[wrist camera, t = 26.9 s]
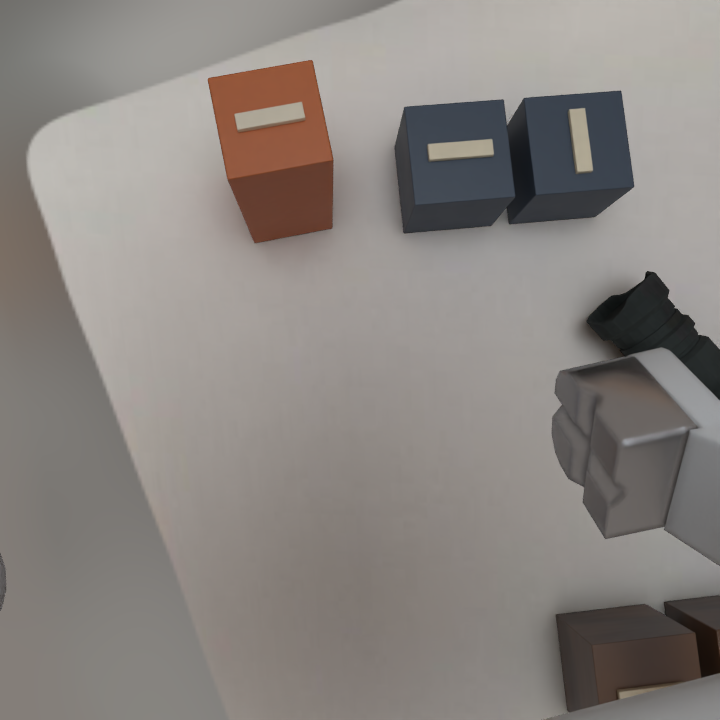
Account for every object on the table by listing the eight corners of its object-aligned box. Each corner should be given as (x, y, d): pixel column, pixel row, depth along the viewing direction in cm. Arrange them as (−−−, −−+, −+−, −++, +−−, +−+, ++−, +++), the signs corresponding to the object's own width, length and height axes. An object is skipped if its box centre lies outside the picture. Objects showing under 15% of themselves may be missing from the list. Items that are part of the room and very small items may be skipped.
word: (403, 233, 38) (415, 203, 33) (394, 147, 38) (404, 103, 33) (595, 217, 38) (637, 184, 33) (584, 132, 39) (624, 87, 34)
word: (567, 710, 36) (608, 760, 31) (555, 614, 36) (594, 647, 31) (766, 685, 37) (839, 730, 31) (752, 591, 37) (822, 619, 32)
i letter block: (254, 243, 37) (226, 177, 27) (239, 167, 38) (205, 73, 28) (332, 228, 38) (333, 157, 27) (316, 153, 38) (312, 55, 28)
